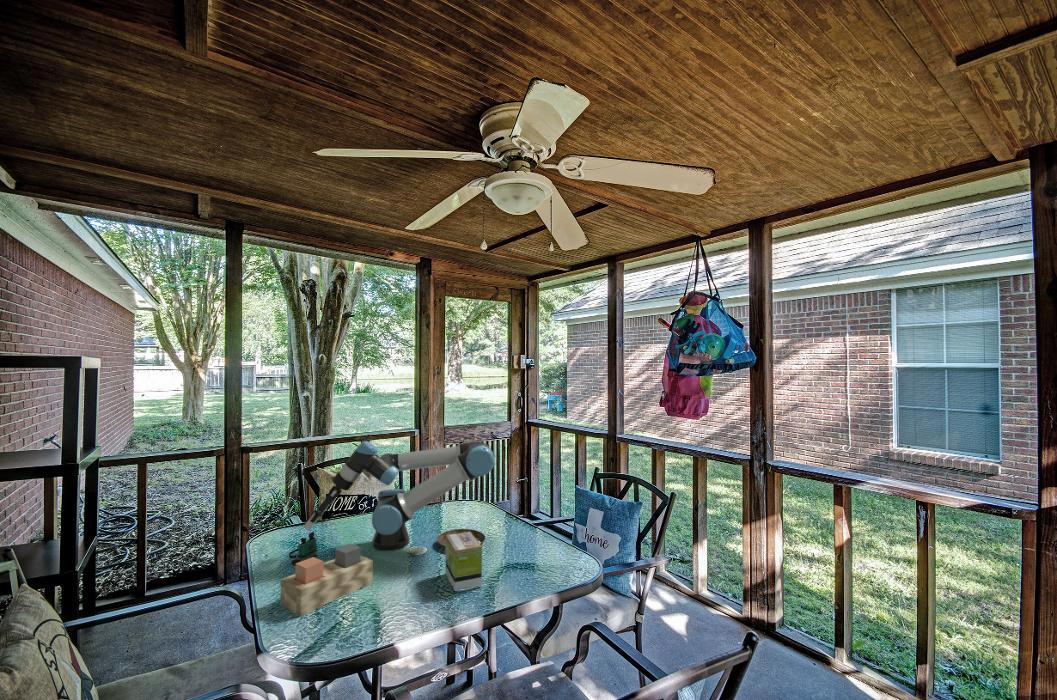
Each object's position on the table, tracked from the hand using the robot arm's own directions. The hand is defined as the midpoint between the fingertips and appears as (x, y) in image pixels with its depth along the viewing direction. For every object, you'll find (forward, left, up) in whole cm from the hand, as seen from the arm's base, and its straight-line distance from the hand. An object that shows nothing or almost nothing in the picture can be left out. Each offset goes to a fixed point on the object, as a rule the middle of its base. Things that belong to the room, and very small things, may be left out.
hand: (311, 522), depth 176 cm
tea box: (-58, +25, -16) cm, 65 cm away
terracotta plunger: (-8, +31, -11) cm, 34 cm away
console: (-13, +27, -15) cm, 33 cm away
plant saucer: (-59, -8, -16) cm, 62 cm away
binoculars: (+3, -1, -16) cm, 16 cm away
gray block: (-18, +22, -11) cm, 30 cm away
